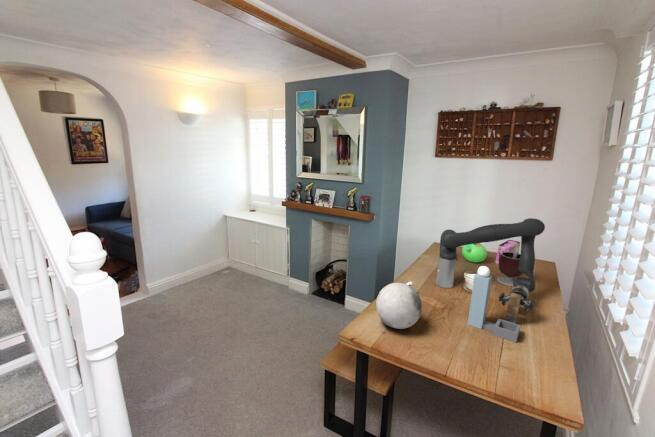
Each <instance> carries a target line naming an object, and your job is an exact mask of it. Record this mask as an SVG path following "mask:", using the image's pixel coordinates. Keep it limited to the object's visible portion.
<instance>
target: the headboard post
mask: <svg viewBox="0 0 655 437" xmlns="http://www.w3.org/2000/svg"><path fill="white" fill-rule="evenodd" d="M492 278H493V275H491V271H490V268H489V267H488V266H485V265H481V266H479V268H478V269H477V272H476V274H475V275H474V277H473V284H472V291H471V298H470V304H469V313H468V320H467V325H469V326H472V327H475V328H478V329H479V330H482V329H484V330H486V331H490V332H493V333H492V335H493V336H496V337H498V338H502V339H505V340H508V341H510V342H513V343H517V341H518V338H519V335H520V330H521V324H517V323H516V324H515V323H512V322H508V321H506V319H502V318H497V321H496V322H495V323H493V322H491V321H488V320H486V317H487V310H488V305H489V304H488V303H489V298H490V290H491V284H492Z"/></svg>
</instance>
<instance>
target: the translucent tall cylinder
mask: <svg viewBox="0 0 655 437" xmlns="http://www.w3.org/2000/svg"><path fill="white" fill-rule="evenodd" d="M510 293H511V292H510ZM509 295H510V294H509ZM520 300H521V295H519V294H515V293H511V295H510V298H509V304H508V303H507V304H508V305H507V310H506V311H507V312H506V318H505V321H508V322H512V323H515V324H517V322H518V316H519V311H520Z"/></svg>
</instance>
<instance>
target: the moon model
mask: <svg viewBox="0 0 655 437" xmlns="http://www.w3.org/2000/svg"><path fill="white" fill-rule="evenodd" d="M376 297H377V298H376V299H375V300H376V301H375V302H376V303H375V305H376V306H375V307H376V312H377V315H378V317H379V318H380V320H381V321H382V322H383V323H384V324H385V325H387V326H388V327H390V328H393V329H397V330H398V329H399V330H403V329H407V328H410V327H412V326H414V325H415V323H417V322H418V320H419V318H420V317H421V314H422V311H423V310H422V309H423V306H422V304H423V303H422V300H421V297H420V295H419V293H418V292H417V291H416V290H415V288H414V287H410V286H409V285H407V283H403V282H391V283H389V284H387V285H386V286H384V287H383V288H382V289H381V290H380V291H379V293H378V295H377V296H376Z"/></svg>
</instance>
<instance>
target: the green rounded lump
mask: <svg viewBox="0 0 655 437" xmlns="http://www.w3.org/2000/svg"><path fill="white" fill-rule="evenodd" d="M461 255H462V256H463V257H464V259H466V261H468V262H470V263H481V262H483V261H484V260H485V259H487V257H488V251H487V249H486V247H485V246H484V245H483V244H482V243H476V244H468V245H464V246H462V248H461Z"/></svg>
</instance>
